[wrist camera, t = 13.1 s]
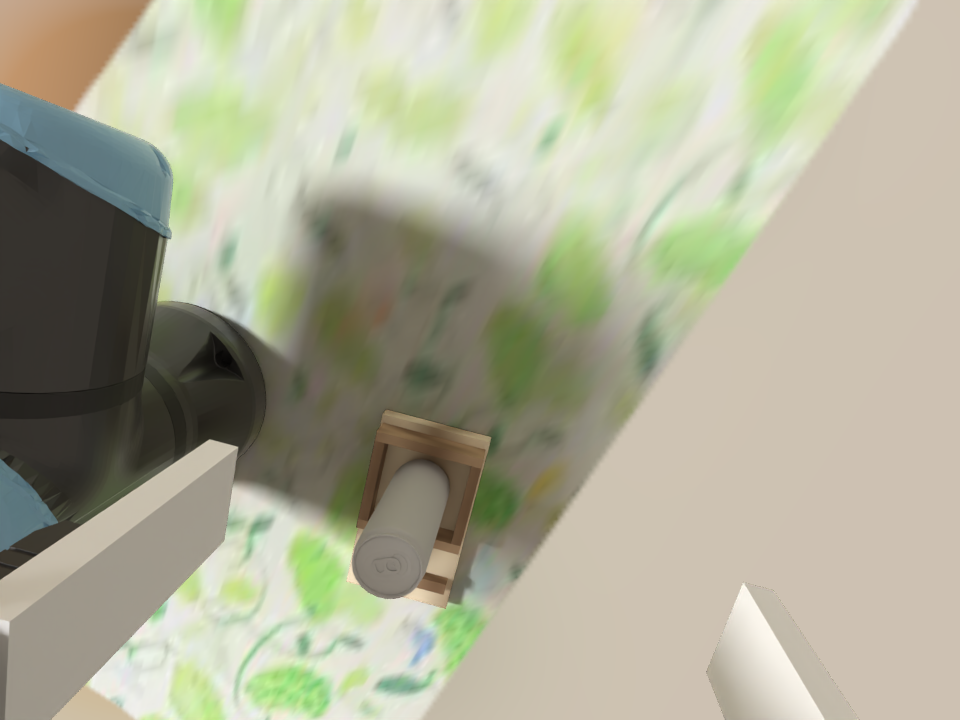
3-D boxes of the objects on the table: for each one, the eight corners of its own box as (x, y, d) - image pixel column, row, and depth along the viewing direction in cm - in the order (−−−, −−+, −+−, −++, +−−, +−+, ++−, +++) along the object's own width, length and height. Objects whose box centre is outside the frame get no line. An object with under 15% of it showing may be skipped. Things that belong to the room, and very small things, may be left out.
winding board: (350, 573, 52) (339, 595, 49) (386, 409, 48) (376, 422, 45) (447, 599, 51) (442, 624, 48) (491, 437, 47) (488, 452, 44)
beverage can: (456, 505, 48) (432, 596, 36) (400, 513, 48) (358, 604, 37) (444, 452, 47) (416, 527, 35) (387, 460, 47) (341, 537, 36)
